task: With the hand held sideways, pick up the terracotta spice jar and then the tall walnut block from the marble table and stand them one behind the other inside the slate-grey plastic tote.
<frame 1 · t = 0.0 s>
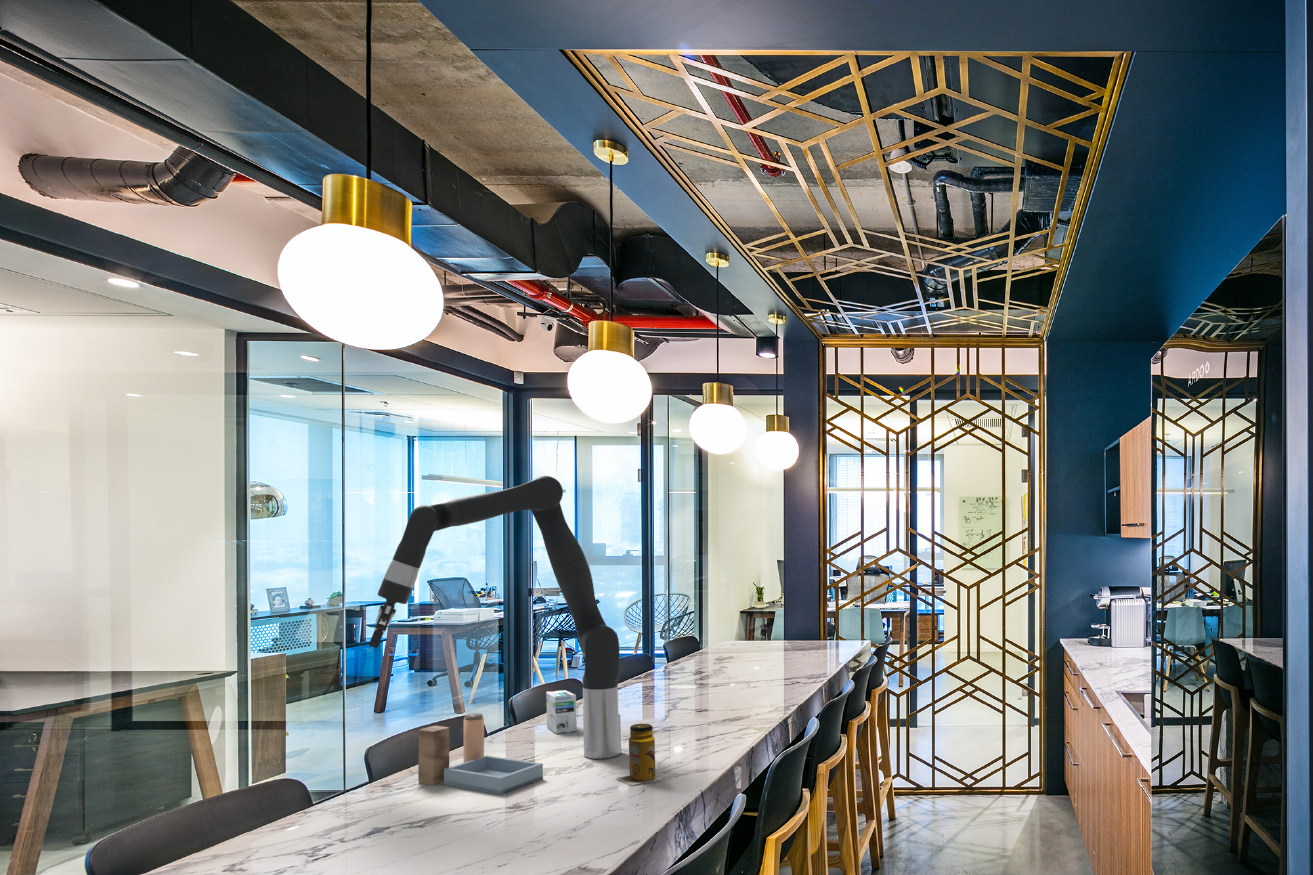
hand: (373, 645, 206), 31 cm above the table, tool tilted 20°, fingers open, 8 cm apart
light bulb box: (561, 730, 251), on the table
walnut block: (433, 781, 198), on the table
terracotta jar: (473, 768, 208), on the table
tote: (493, 781, 195), on the table
condiment: (639, 780, 194), on the table
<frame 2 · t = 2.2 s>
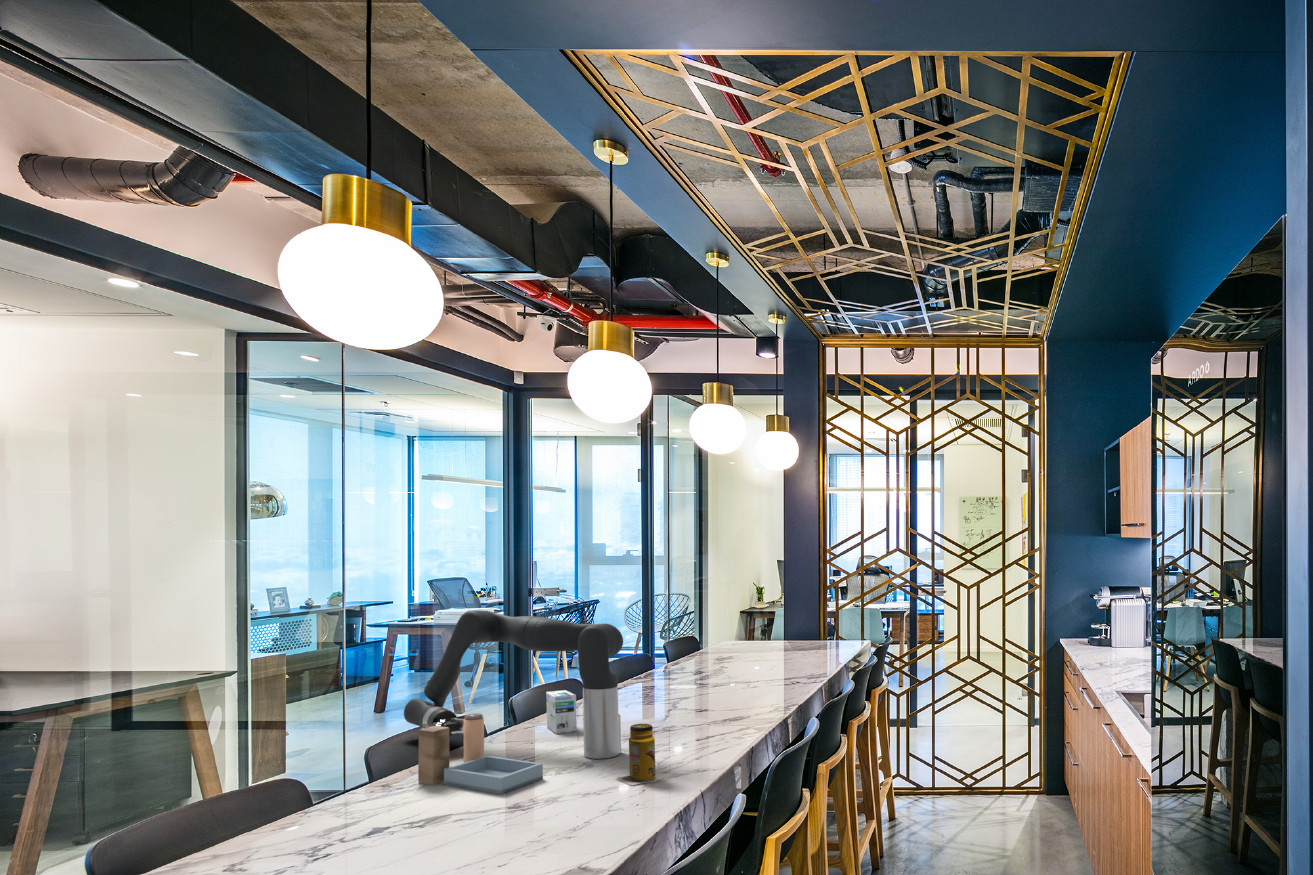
hand: (459, 731, 218), 7 cm above the table, tool horizontal, fingers open, 8 cm apart
nothing on the table moved.
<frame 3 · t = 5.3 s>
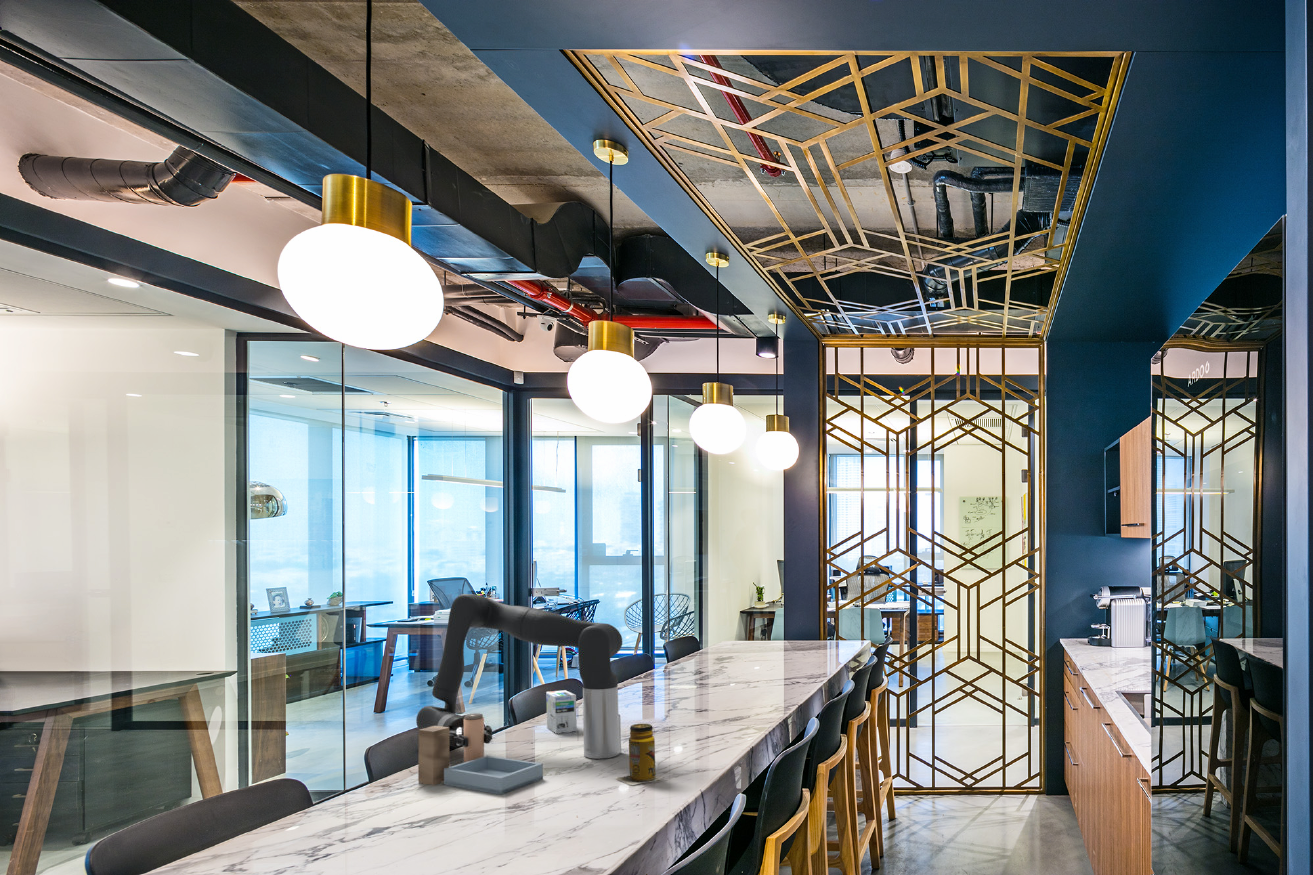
hand: (477, 740, 207), 7 cm above the table, tool horizontal, fingers closed on terracotta jar, 5 cm apart
terracotta jar: (474, 768, 208), on the table, touching gripper
everything else where it was.
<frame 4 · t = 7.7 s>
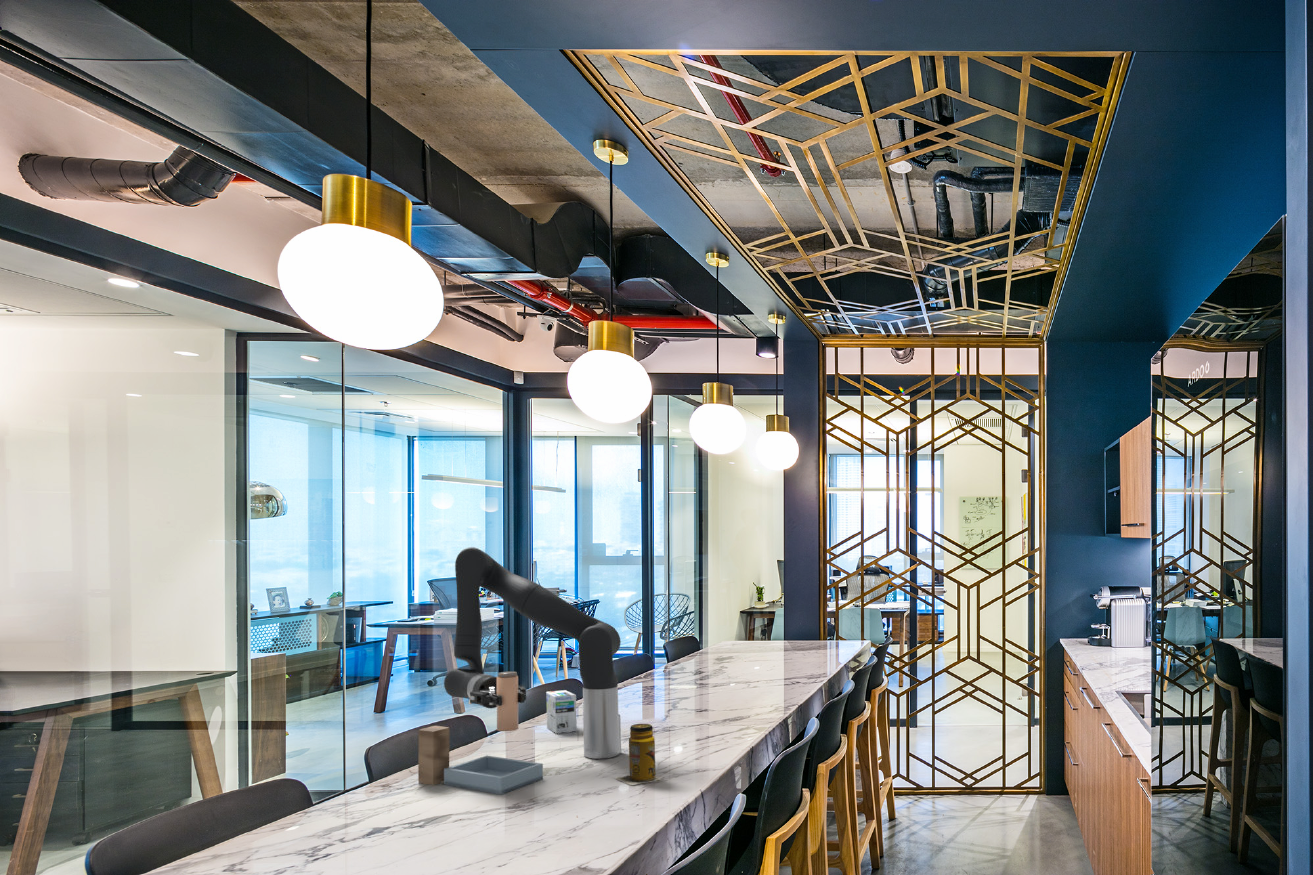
hand: (511, 699, 195), 19 cm above the table, tool horizontal, fingers closed on terracotta jar, 5 cm apart
terracotta jar: (507, 728, 196), point 12 cm above the table, touching gripper
everything else where it was.
when the fingers open (9 cm above the table, at t = 10.1 s): terracotta jar drops 1 cm, resting on tote.
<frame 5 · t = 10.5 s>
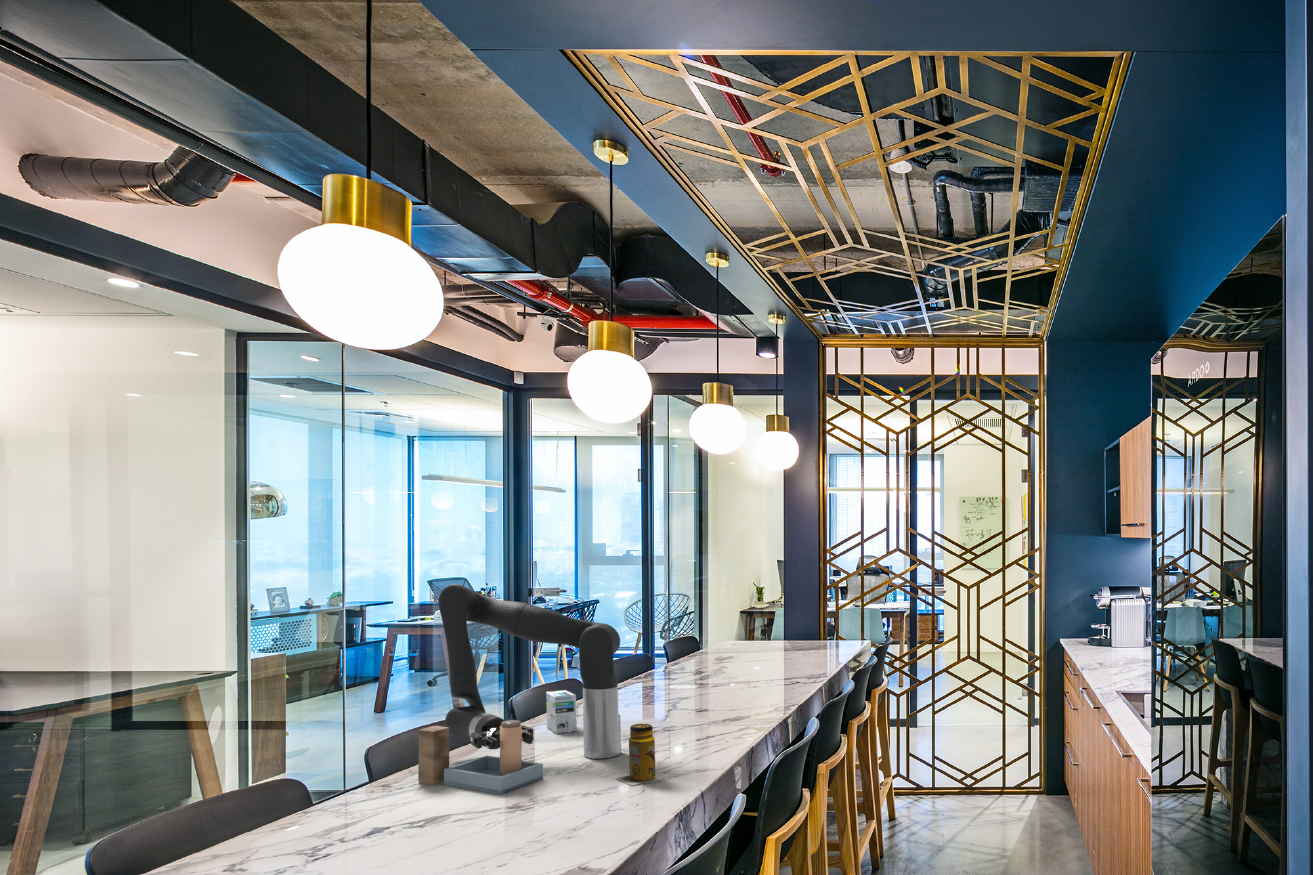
hand: (513, 741, 193), 10 cm above the table, tool horizontal, fingers open, 8 cm apart
terracotta jar: (510, 779, 194), point 1 cm above the table, touching tote
everything else where it was.
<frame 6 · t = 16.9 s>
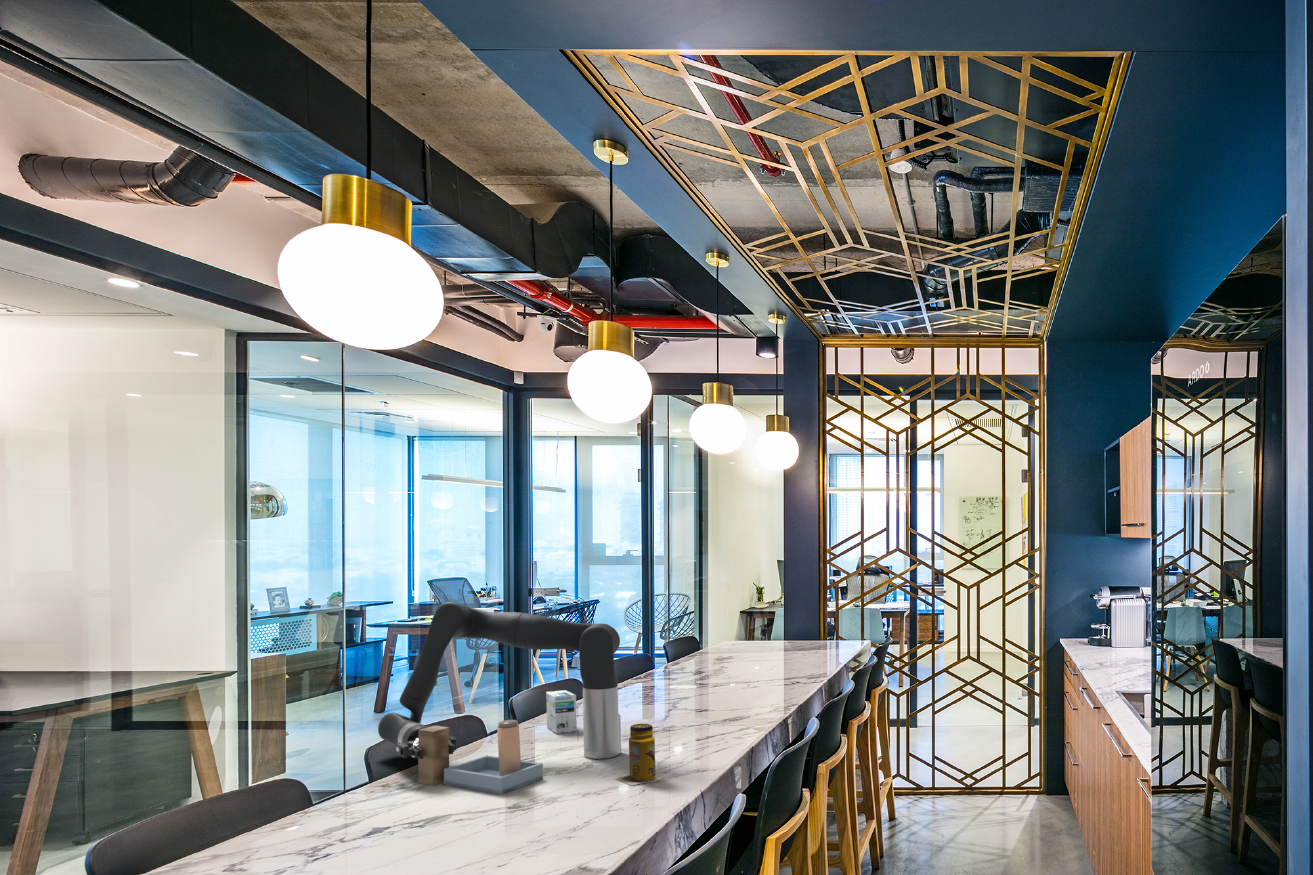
hand: (436, 751, 197), 7 cm above the table, tool horizontal, fingers closed on walnut block, 6 cm apart
walnut block: (433, 781, 198), on the table, touching gripper
everything else where it was.
when the fingers open (9 cm above the table, at t = 21.6 s): walnut block drops 2 cm, resting on tote.
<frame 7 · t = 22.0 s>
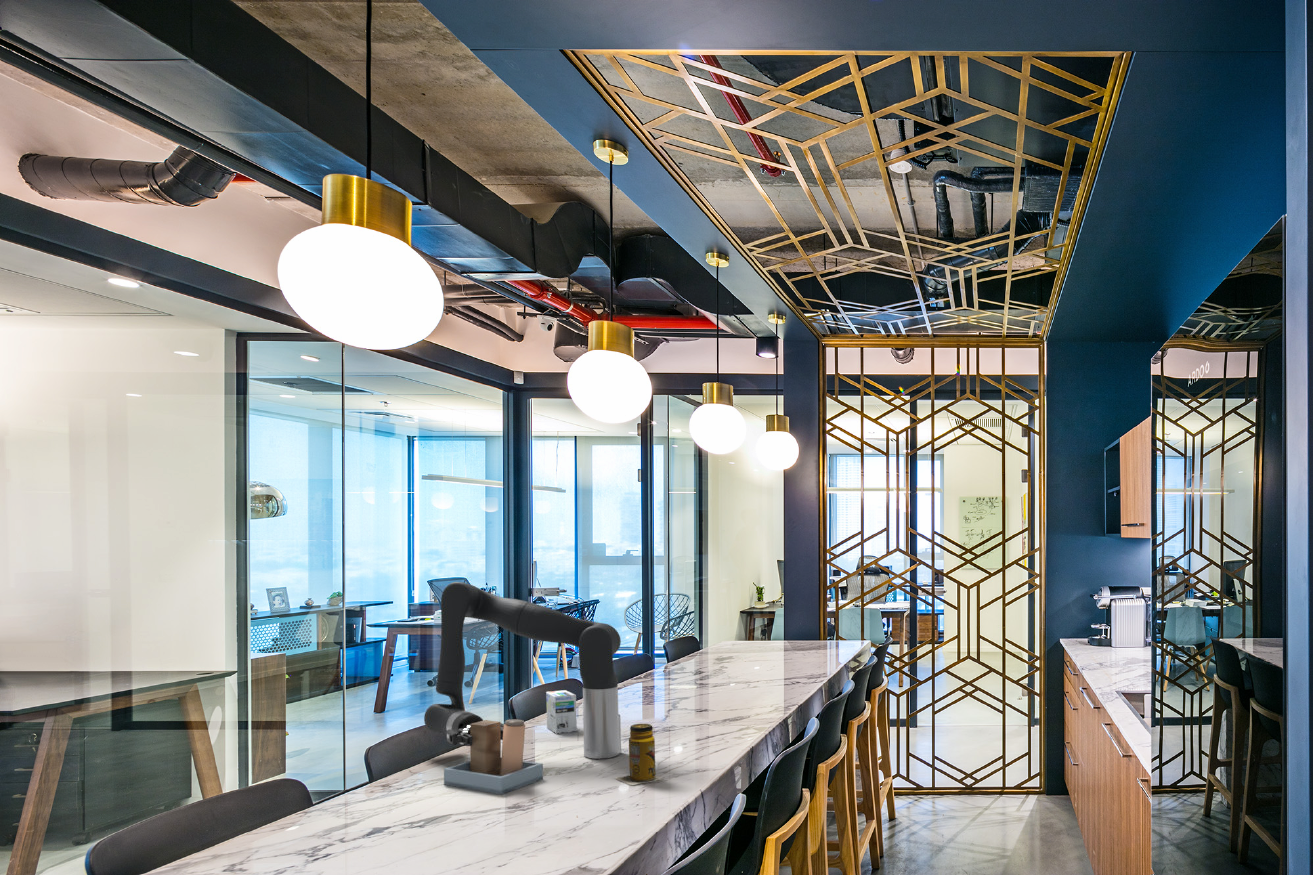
hand: (488, 738, 198), 10 cm above the table, tool horizontal, fingers open, 8 cm apart
walnut block: (485, 775, 198), point 1 cm above the table, touching tote
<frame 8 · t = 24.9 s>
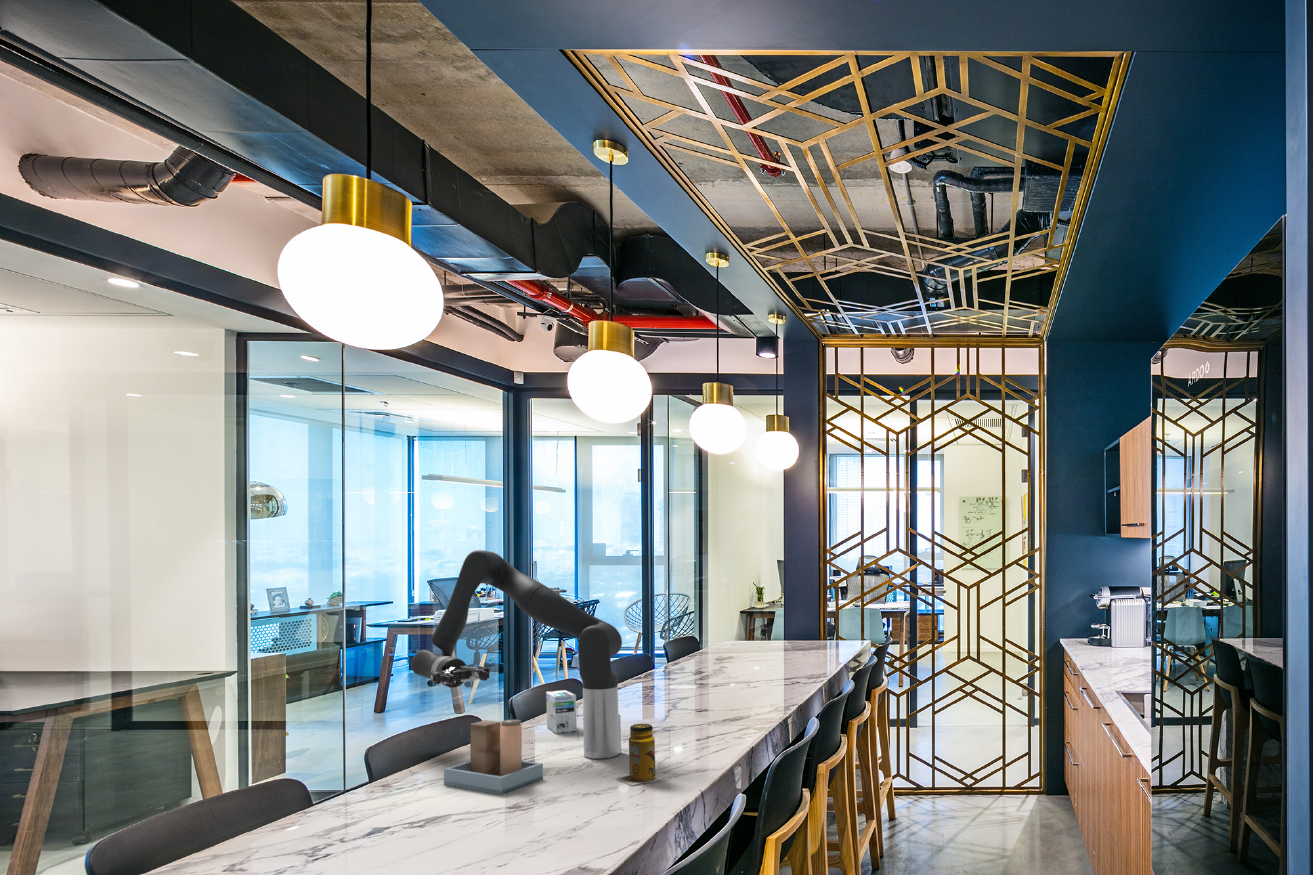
hand: (469, 678, 210), 22 cm above the table, tool horizontal, fingers open, 8 cm apart
at the end: terracotta jar inside the target area on the tote (4.5 cm from its centre), point 1.0 cm above the tote's base; walnut block inside the target area on the tote (3.8 cm from its centre), point 0.8 cm above the tote's base; terracotta jar tilted 5° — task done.
